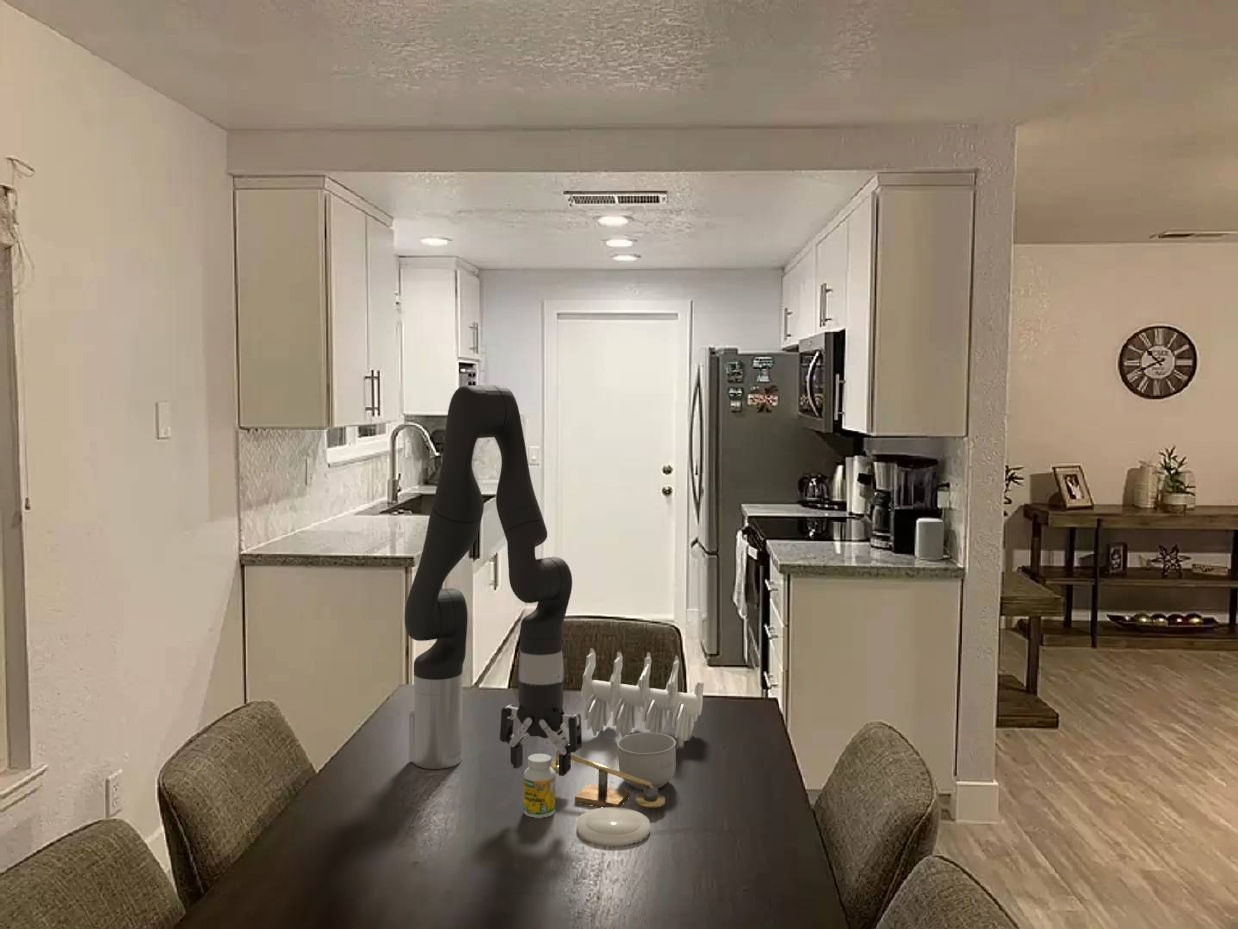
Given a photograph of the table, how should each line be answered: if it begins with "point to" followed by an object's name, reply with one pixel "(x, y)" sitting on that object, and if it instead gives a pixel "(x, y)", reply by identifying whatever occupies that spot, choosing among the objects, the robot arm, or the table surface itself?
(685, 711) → the spiral staircase
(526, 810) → the supplement bottle
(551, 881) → the table surface
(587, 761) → the balance
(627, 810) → the plate
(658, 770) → the teacup
